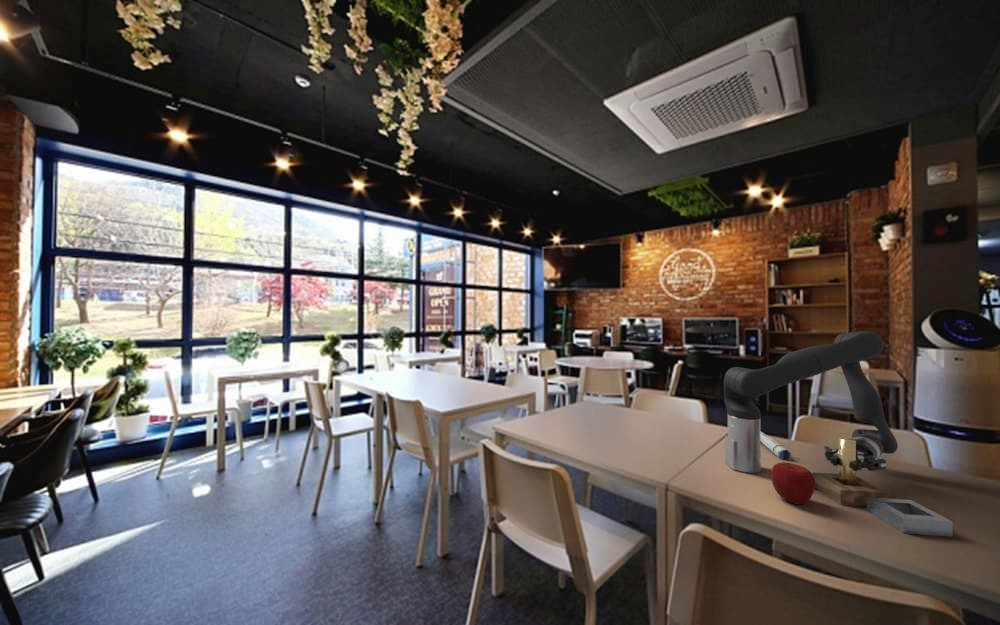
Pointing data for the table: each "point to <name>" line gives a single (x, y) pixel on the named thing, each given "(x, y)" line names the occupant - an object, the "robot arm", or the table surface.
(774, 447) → the white marker pen
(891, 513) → the grey steel socket block
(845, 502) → the walnut block
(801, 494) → the apple
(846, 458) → the brass axle
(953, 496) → the table surface
